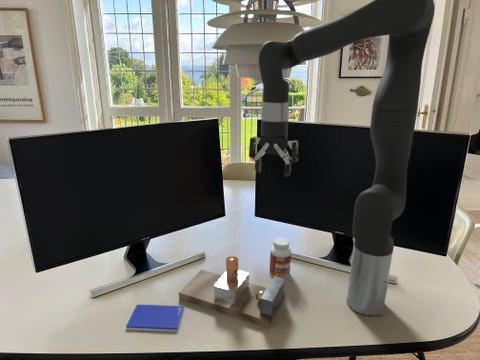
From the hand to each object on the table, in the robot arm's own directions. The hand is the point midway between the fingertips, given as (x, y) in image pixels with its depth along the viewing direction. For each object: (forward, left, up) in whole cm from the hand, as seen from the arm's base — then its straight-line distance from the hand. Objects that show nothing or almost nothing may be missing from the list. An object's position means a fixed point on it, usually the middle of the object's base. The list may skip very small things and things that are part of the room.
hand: (272, 173), depth 100 cm
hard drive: (+17, +36, -31) cm, 50 cm away
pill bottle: (-5, +4, -30) cm, 31 cm away
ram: (+3, +21, -28) cm, 35 cm away
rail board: (+3, +21, -30) cm, 37 cm away
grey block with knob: (-7, +21, -28) cm, 36 cm away
